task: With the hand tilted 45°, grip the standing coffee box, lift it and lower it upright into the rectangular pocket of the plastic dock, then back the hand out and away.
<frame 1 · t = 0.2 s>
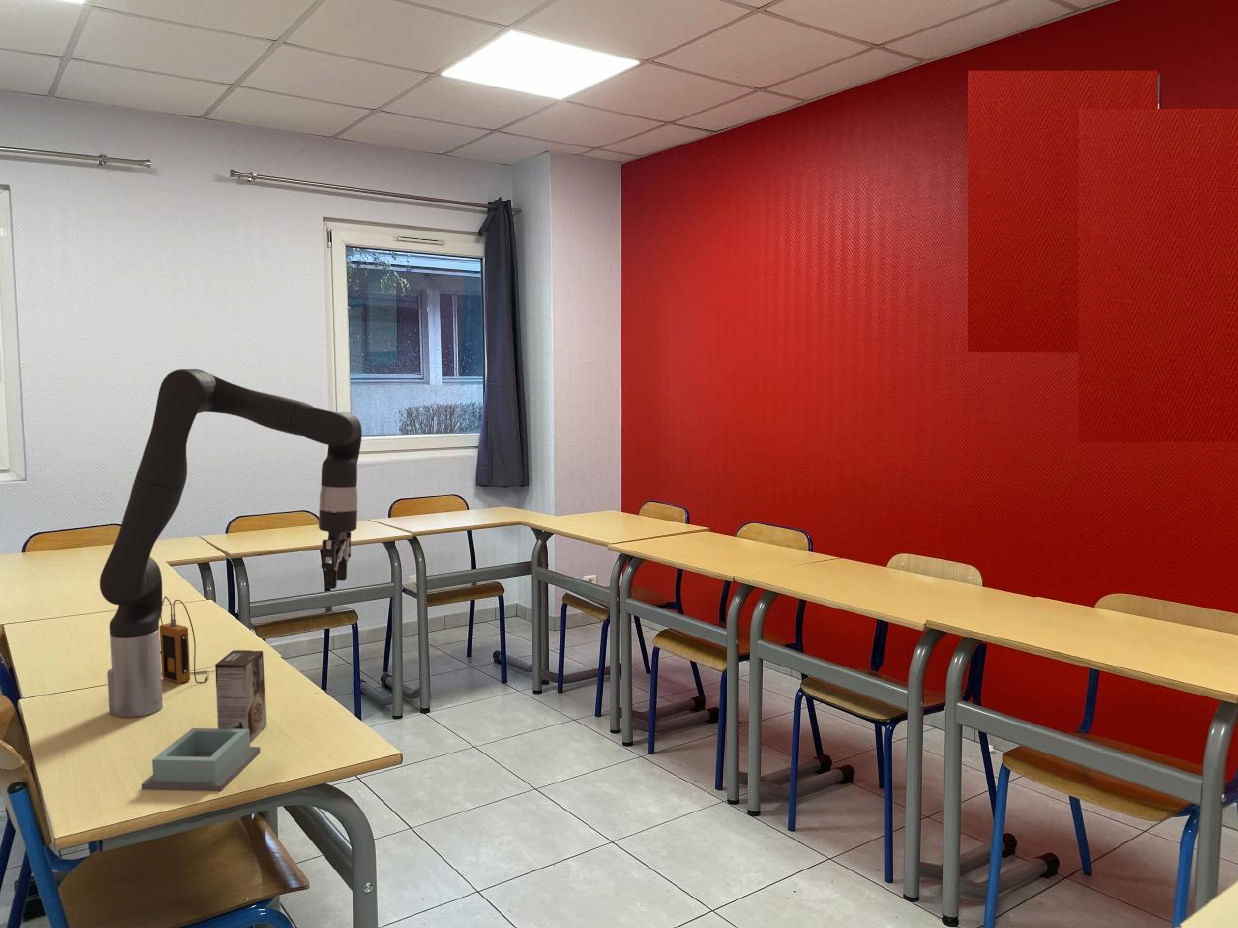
hand: (336, 584, 190), 28 cm above the table, tool pointing down, fingers open, 8 cm apart
multimeter: (190, 676, 215), on the table
coffee box: (242, 735, 181), on the table
dock: (203, 769, 165), on the table
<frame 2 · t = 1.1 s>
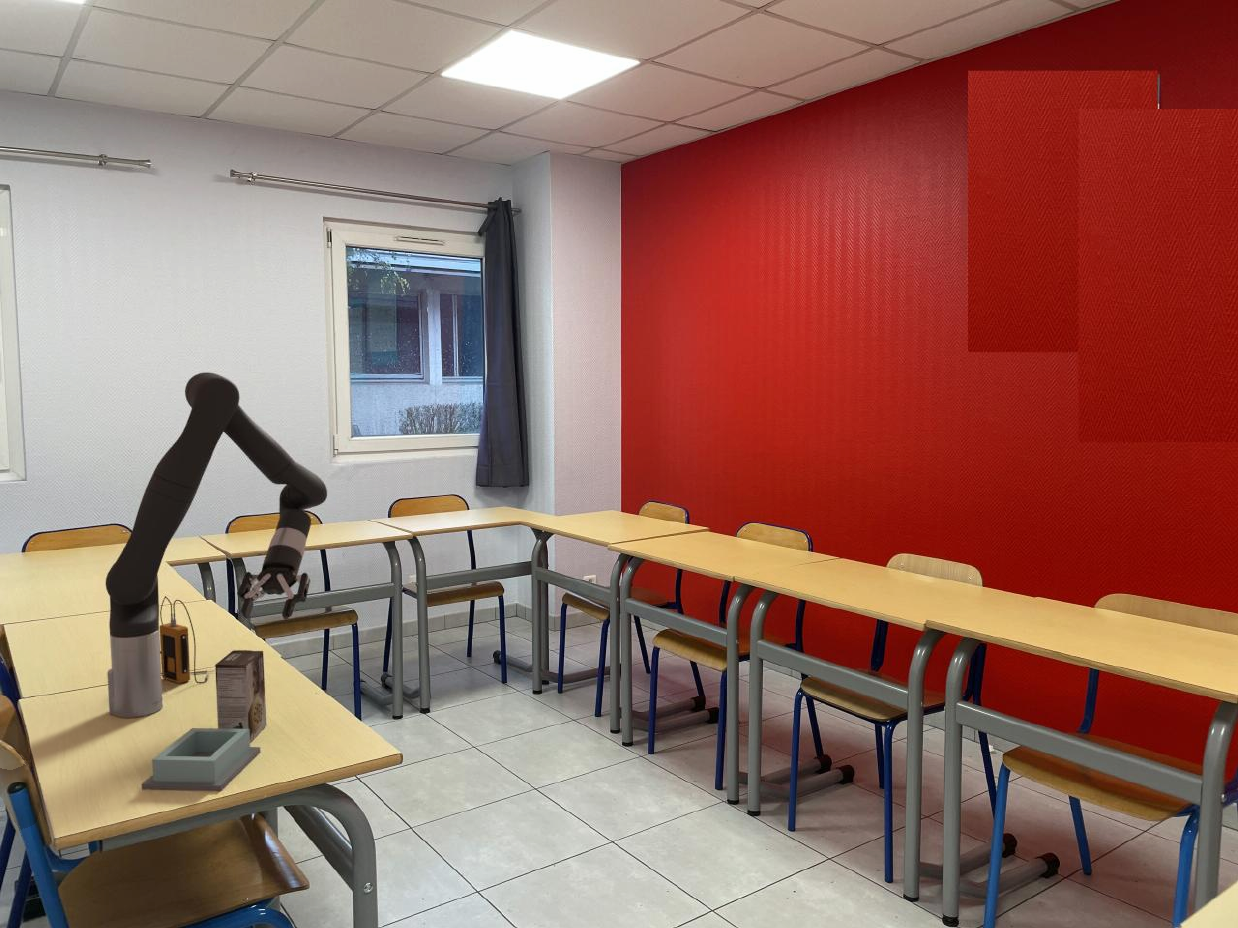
hand: (265, 617, 191), 21 cm above the table, tool tilted 45°, fingers open, 8 cm apart
nothing on the table moved.
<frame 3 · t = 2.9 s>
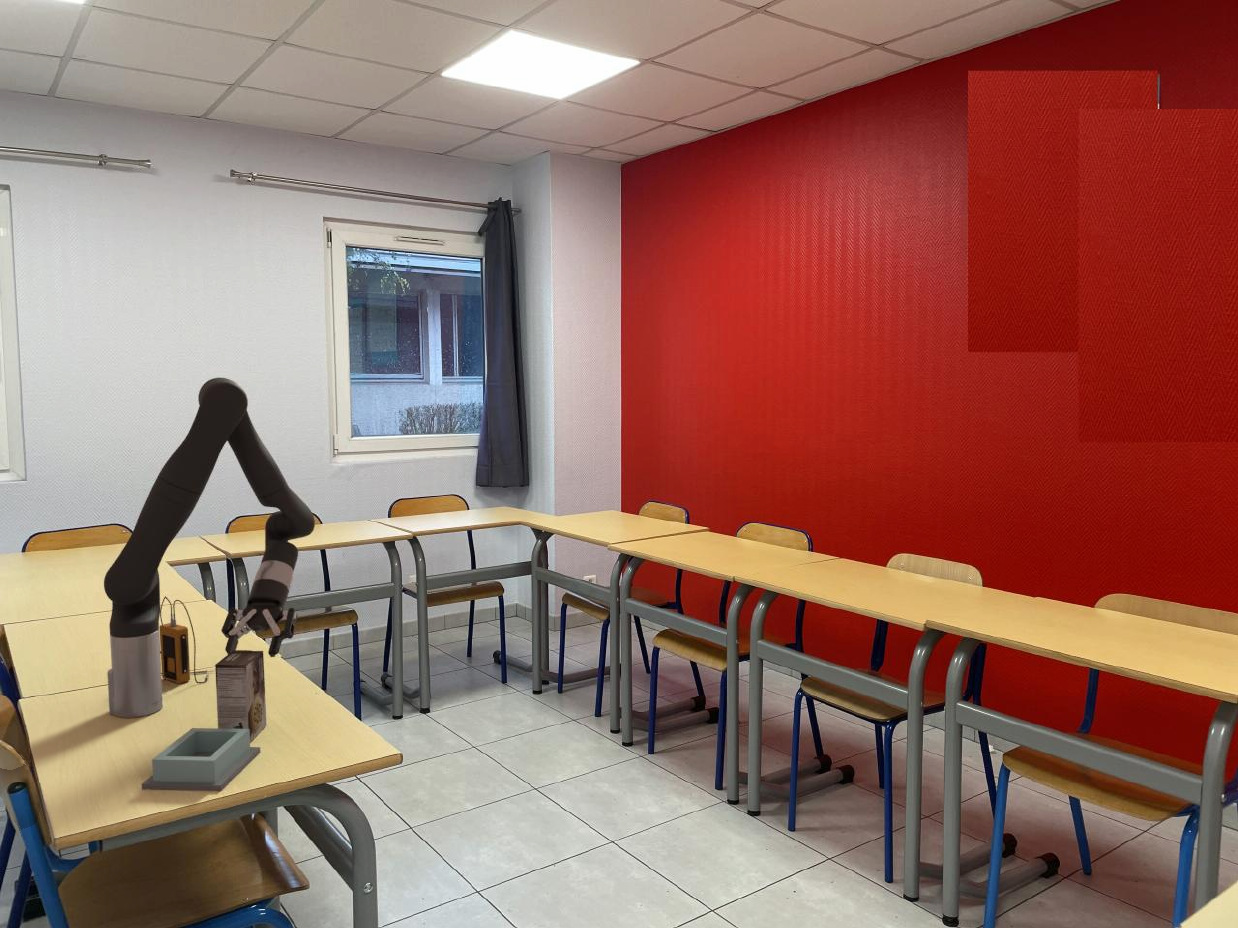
hand: (250, 655, 184), 15 cm above the table, tool tilted 45°, fingers open, 8 cm apart
nothing on the table moved.
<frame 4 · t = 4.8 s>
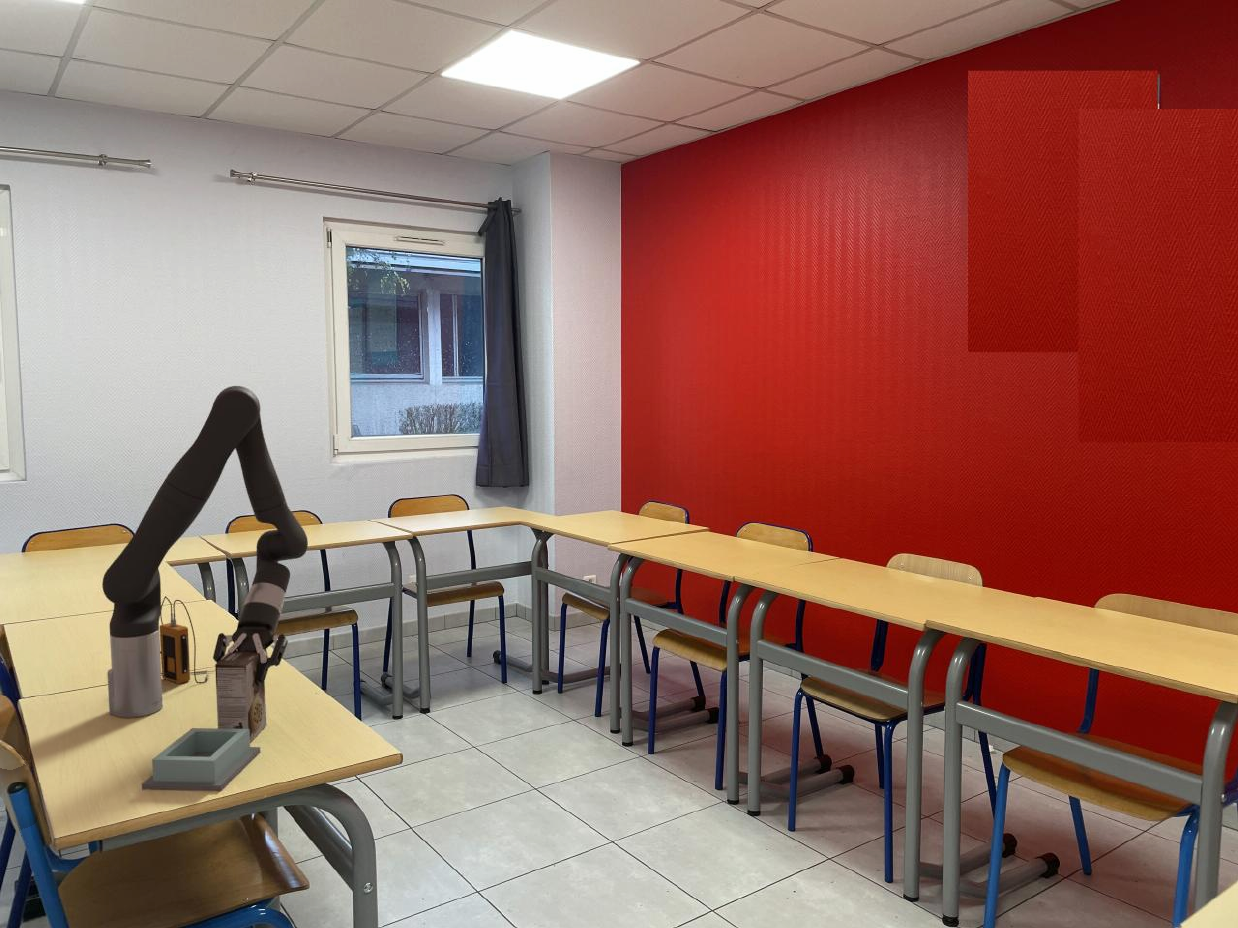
hand: (239, 682, 179), 11 cm above the table, tool tilted 45°, fingers closed on coffee box, 6 cm apart
coffee box: (242, 735, 181), on the table, touching gripper
everything else where it was.
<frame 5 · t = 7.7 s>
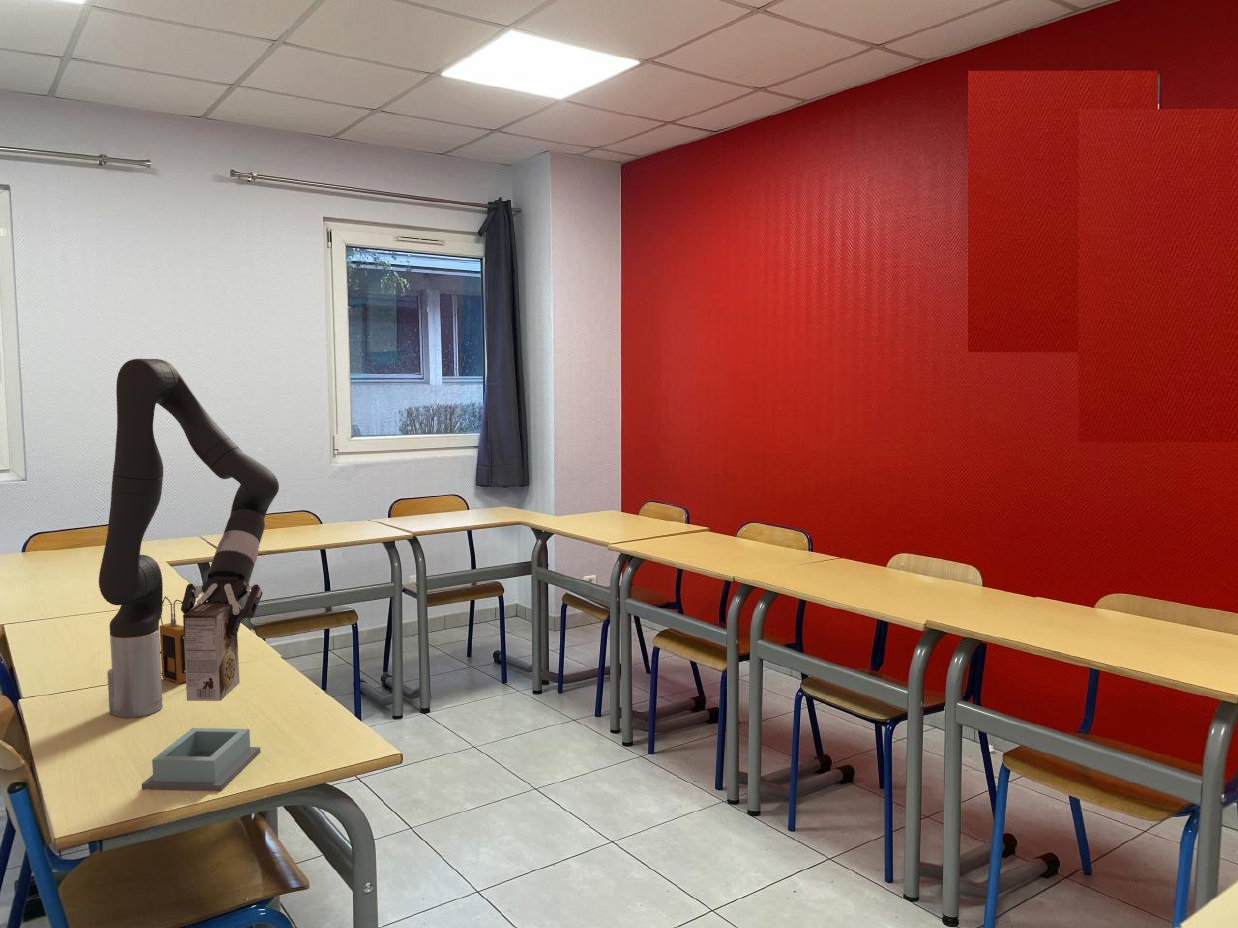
hand: (209, 635, 166), 24 cm above the table, tool tilted 45°, fingers closed on coffee box, 6 cm apart
coffee box: (213, 693, 167), point 13 cm above the table, touching gripper
everything else where it was.
when the fingers open (13 cm above the table, at t = 10.7 s): coffee box drops 1 cm, resting on dock.
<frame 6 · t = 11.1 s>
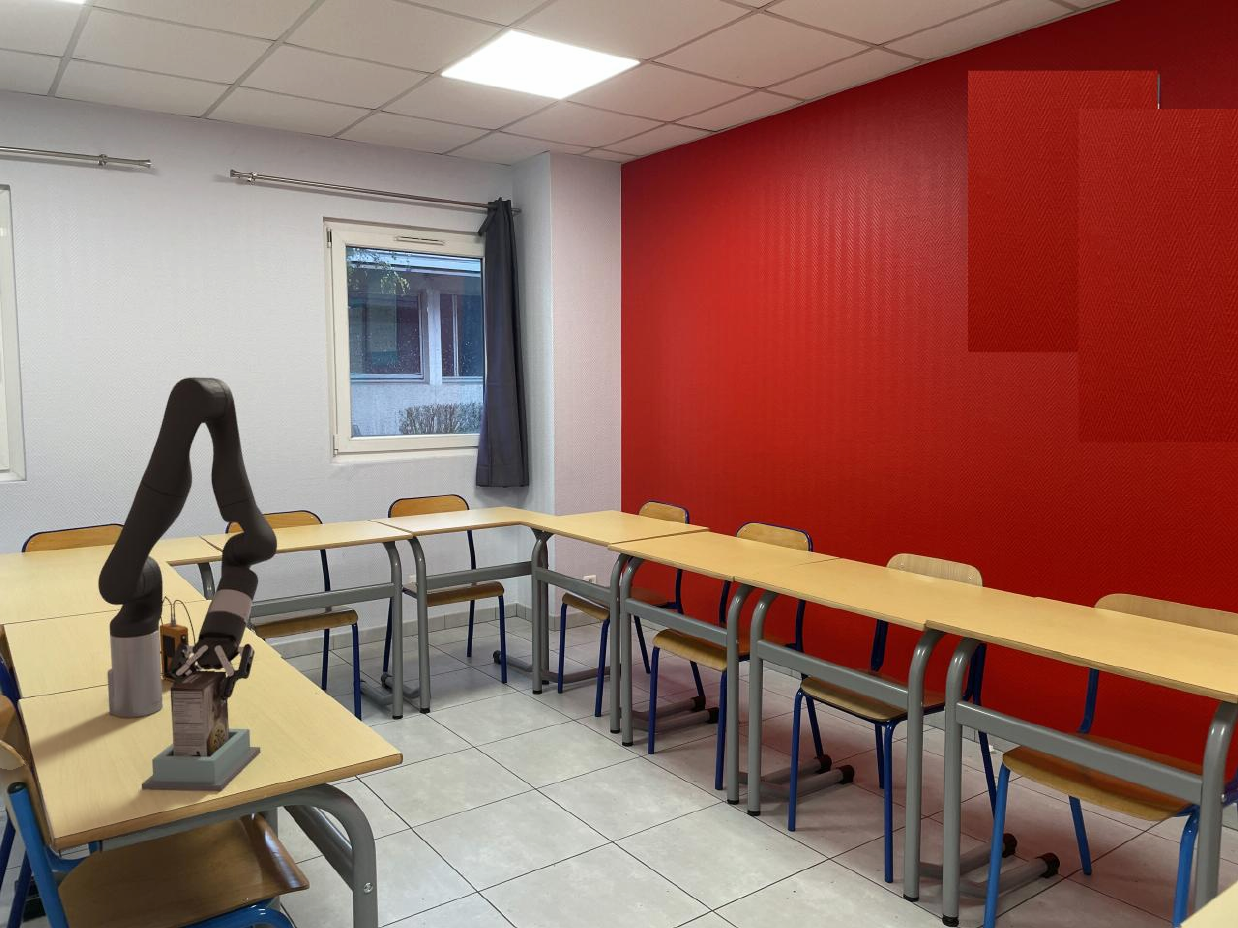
hand: (199, 698, 163), 14 cm above the table, tool tilted 45°, fingers open, 8 cm apart
coffee box: (202, 764, 165), point 1 cm above the table, touching dock
everything else where it was.
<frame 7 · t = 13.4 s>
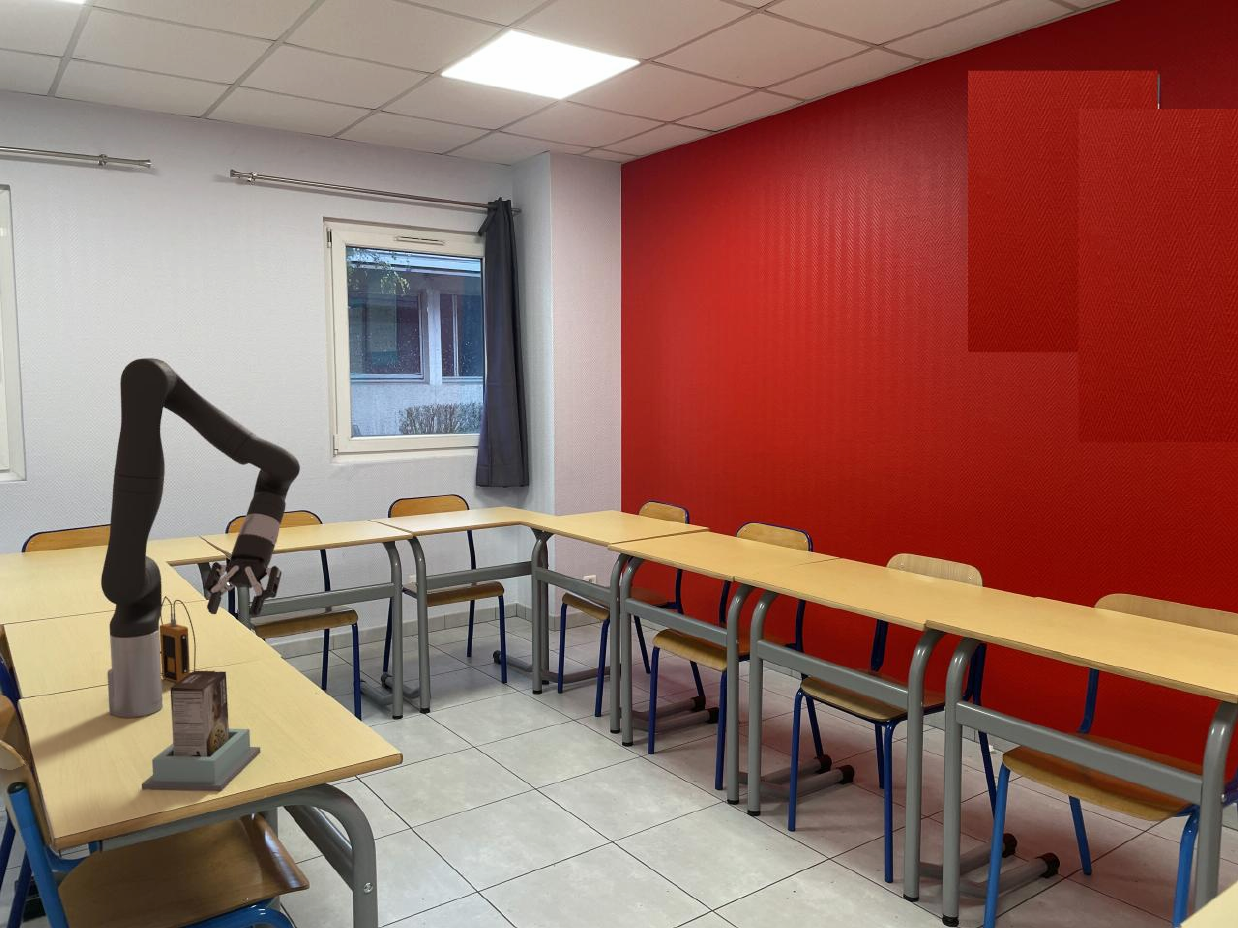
hand: (232, 614, 179), 25 cm above the table, tool tilted 35°, fingers open, 8 cm apart
nothing on the table moved.
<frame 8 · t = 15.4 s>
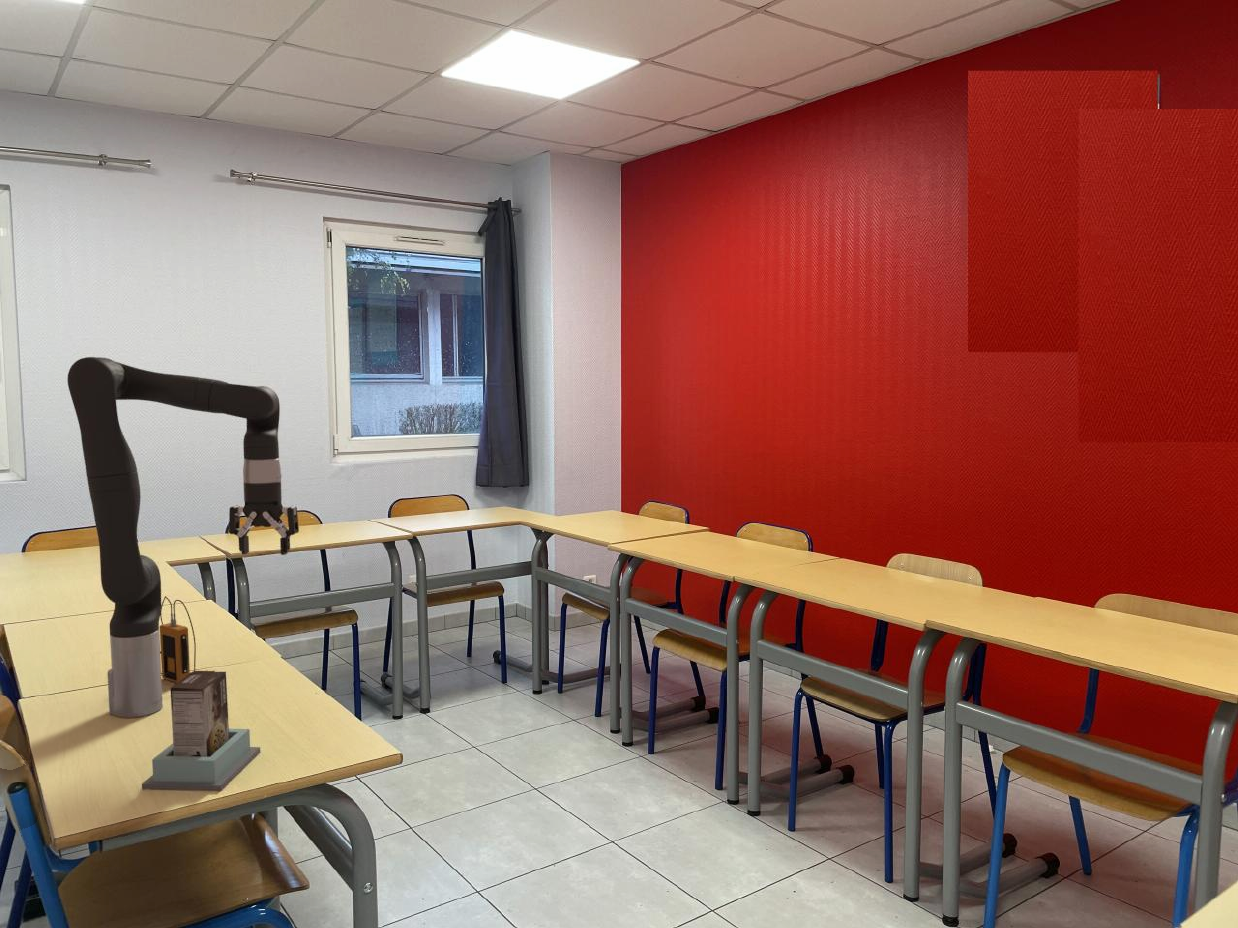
hand: (264, 553, 195), 33 cm above the table, tool pointing down, fingers open, 8 cm apart
nothing on the table moved.
at the end: coffee box 0.4 cm off-centre on the dock, point 0.8 cm above the dock's base; coffee box tilted 0°; the gripper is holding nothing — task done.
